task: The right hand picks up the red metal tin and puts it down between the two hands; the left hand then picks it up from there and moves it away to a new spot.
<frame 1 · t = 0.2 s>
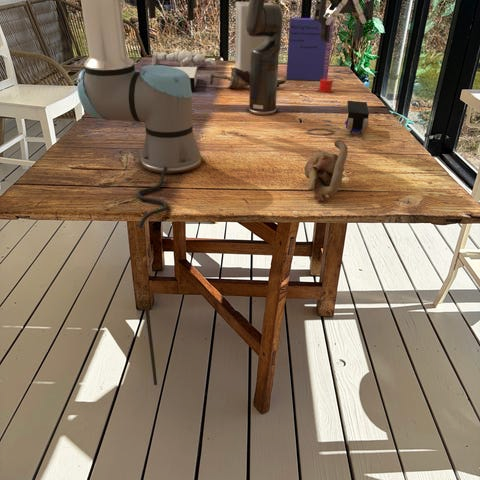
left hand: (171, 19, 151), 28 cm above the table, tool pointing down, fingers open, 13 cm apart
right hand: (341, 41, 114), 29 cm above the table, tool pointing down, fingers open, 8 cm apart
cereal box: (306, 79, 207), on the table
tin: (325, 91, 190), on the table
toy: (185, 67, 226), on the table
tall white carton: (253, 72, 218), on the table
brown monkey figure: (321, 189, 110), on the table
figurine character: (354, 130, 148), on the table
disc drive: (174, 84, 195), on the table
figurine: (247, 88, 192), on the table
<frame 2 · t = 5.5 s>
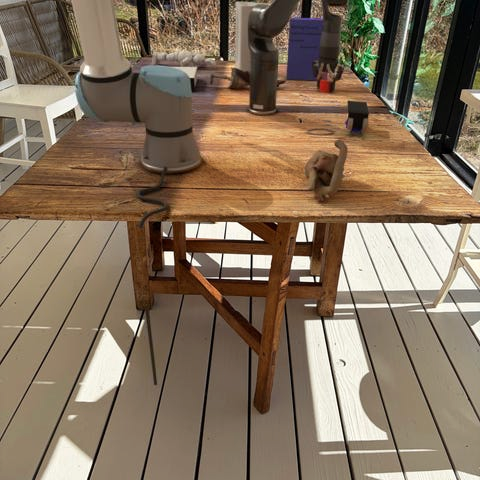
left hand: (148, 0, 141), 34 cm above the table, tool pointing down, fingers open, 13 cm apart
right hand: (325, 89, 190), 0 cm above the table, tool pointing down, fingers closed on tin, 4 cm apart
tin: (325, 91, 190), on the table, touching right hand
everything else where it was.
when the right hand's fingers open (1 cm above the table, at t = 15.5 s): tin stays where it is, on the table.
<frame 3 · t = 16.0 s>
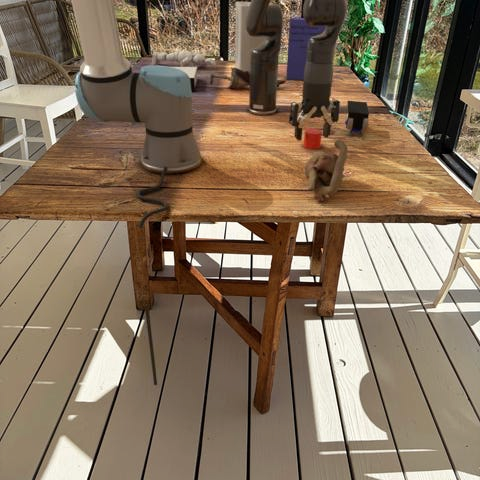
left hand: (148, 0, 141), 34 cm above the table, tool pointing down, fingers open, 13 cm apart
right hand: (312, 138, 134), 2 cm above the table, tool pointing down, fingers open, 8 cm apart
tin: (311, 146, 135), on the table
everything else where it was.
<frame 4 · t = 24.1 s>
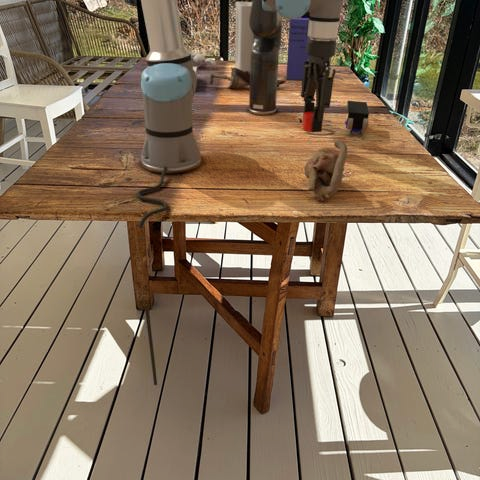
left hand: (311, 128, 133), 5 cm above the table, tool pointing down, fingers closed on tin, 5 cm apart
tin: (311, 129, 133), point 5 cm above the table, touching left hand
everything else where it was.
when the left hand's fingers open (0 cm above the table, at t = 30.6 s): tin stays where it is, on the table.
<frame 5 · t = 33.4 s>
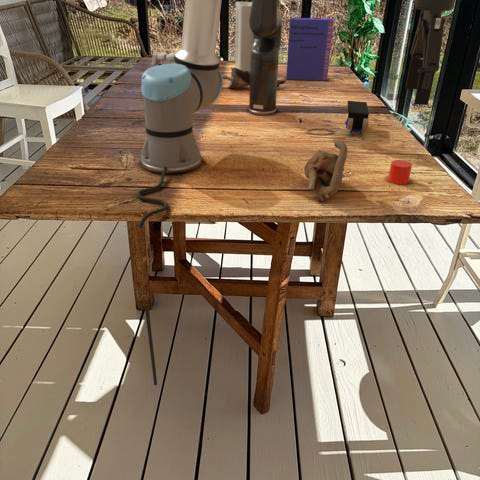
left hand: (415, 96, 105), 20 cm above the table, tool pointing down, fingers open, 13 cm apart
tin: (398, 180, 116), on the table
everything else where it was.
at the end: tin inside the target area (0.1 cm from its centre), on the table; tin tilted 0°; the two hands never held the tin at the same time; the left hand is holding nothing; the right hand is holding nothing; tin at rest at the end (0.0 cm/s) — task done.
